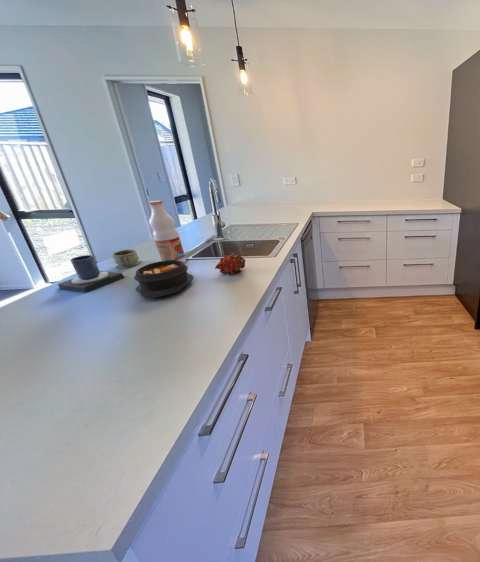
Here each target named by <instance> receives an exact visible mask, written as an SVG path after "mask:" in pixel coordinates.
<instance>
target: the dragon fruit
mask: <svg viewBox="0 0 480 562" xmlns="http://www.w3.org/2000/svg"><path fill="white" fill-rule="evenodd" d="M245 267H246V259H245V258H244V257H243V256H241V255H238V254H235V253H231V254H230V255H227V254H226V255H224V256H223V257H221V258H220V260H219V262H218V263H217V264H216V265H215V267H214V270H219V273H220V274H221V273H222V274H230V273H231V275H234V274H235V273H239V272H241V269H244V268H245Z"/></svg>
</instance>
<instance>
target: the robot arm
mask: <svg viewBox="0 0 480 562" xmlns="http://www.w3.org/2000/svg"><path fill="white" fill-rule="evenodd" d="M10 219H11V216H10V215H8V214H7V213H5V212H3V211H2V210H1V209H0V220H2V221H4V222H6V221H9V220H10Z"/></svg>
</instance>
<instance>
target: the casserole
mask: <svg viewBox="0 0 480 562" xmlns="http://www.w3.org/2000/svg"><path fill="white" fill-rule="evenodd" d="M188 269H189V266H188V265H187V264H186V263H185V262H184V263H183V262H182V261H179V260H168V261H161V260H160V261H156V262H152V263H148V264H145V265H143V266H141V267H139V268H137V270H135V274H134V277H133V279H134V281H136V282H138V285H137V286H136V287H135V292H137V293H138V294H139V295H140V296H141V297H142V298H145V299H146V298H147V299H149V298H150V299H151V298H159V297H164V296H169V295H173V294H176V293H178V292H180V291H181V290H183V288H184V287H185V286H187V285H189V284H191V282H192V281H193V280H194V275H193V274H191V273H188Z"/></svg>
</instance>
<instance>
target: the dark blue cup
mask: <svg viewBox="0 0 480 562" xmlns="http://www.w3.org/2000/svg"><path fill="white" fill-rule="evenodd" d="M70 263H71V265H72V267H73V269H74V271H75V273H76V277H78V278H79V279H82V280H87V279H92V278H95V277H98V276H99V274H100V271H101V270H100V269H99V266H98V264H97V262H96V260H95V257H94V255H92V254H86V255H85V254H84V255H80V256H76V257H73V258H71V259H70Z"/></svg>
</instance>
